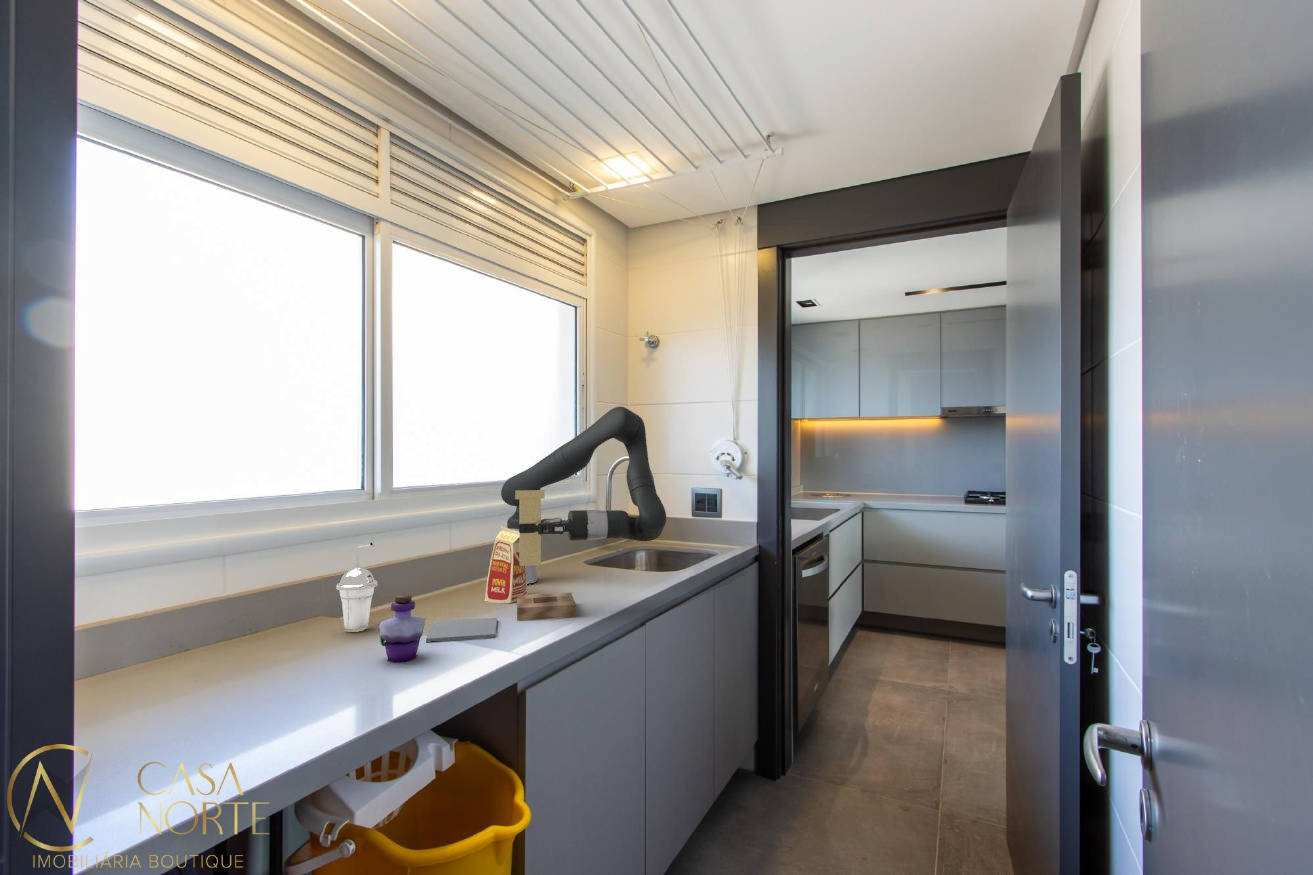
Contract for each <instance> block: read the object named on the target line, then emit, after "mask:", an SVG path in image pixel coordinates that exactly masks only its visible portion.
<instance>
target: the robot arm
mask: <svg viewBox="0 0 1313 875" xmlns="http://www.w3.org/2000/svg"><path fill="white" fill-rule="evenodd" d="M646 435H647V433H646V427H645V423H644V419H643V418H642V417H641V416H639V415H638V414H637V413H635V412H633V411H632V410H630V409H629V408H627V407H625V406H616V407H613V408H611V409H609V410H608V411H607V412H606V413H605V414H603V415H602V416H601V417H600V418H598V419H597V420H596V421H594V423H592V424H591V425H590V426H589V427H588V428H586V429H585V430H583V431H582V432H581V433H579V434H578V435H576V436H574V438H572V439H571V440H569V441H567V442H565V443H563V445H561V446H559V447H558V448H555V450H554V451H552V452H551V453H549V454H548V455H546V456H545V457H543V458H542V459H540V460H539V461H538V462H536V463H535V464H533V465H532V466H530V467H528V468H526V469H524V470H523V471H521V472H519V473H518V474H514V475H513V476H511V477H510V478H507V480H506V481H505V482H504V483H503V485H502V487H501V489H500V490H501V491H500V496H501V499H502V500H503V502H504V503H505V504H507V505H508V506H511V507H516V509H515V512H514V513H513V514H512V515H511V516H509V517H508V519H507V522H506V528H508V529H511V530H514V531H519V533H537V534H540V535H546V536H547V535H548V536H550V535H555V536H561V535H563V534H564V533H566V532H567V535H568V540H569V541H570V542H574V541H595V540H596V541H597V540H603V539H621V538H623V539H628V540H632V541H637V542H651V541H654V540H656V539H658V538H659V537H660V536H661V534H662V533H663V531H664V528H665V526H666V524H667V513H666V508H665V506H664V504H663V502H662V500H661V499H660V496H659V495H658V494H657V490H656V486H655V482H654V477H653V476H652V472H651V467H650V461H649V454H648V453H649V452H648V445H647V436H646ZM611 439H615V440H617V441H618V442H621V443H622V444H623V445H624V447H625V449H626V451H627V455H628V464H627V468H626V484H627V488H628V492H629V495H630V500H631V502H632V504H633V505H634V506H635V507H637V509H638V510H637V511H638V516H637V517H635V516H630V515H629V514H628V513H627V511H626V510H622V509H621V510H620V509H619V510H618V509H616V510H612V509H611V510H600V509H582V510H581V509H579V510H577V509H576V510H569V512H568V515H567V519H563V518H562V517H554V518H552V517H551V518H544V519H542V518H541V523H532V524H520V525H519V499H515V491H524V490H542V489H543V488H544V487H547V486H549V485H553V484H556V483H558V482H562V481H564V480H566V479H568V478H571V477H572V476H574V475H575V474H577V473H579V472H580V471H582V470H583V469H585V468H586V467H587V466H588V465H589V463H590V461H591V460H592V457H593V455H594V453H595V451H596V449H597V448H598V447H599V446H601V445H603V444H604V443H605V442H608V441H609V440H611ZM537 579H538V565H530V566H526V581H527V583H533V582H536V581H538V580H537ZM536 583H537V582H536Z"/></svg>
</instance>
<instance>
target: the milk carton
mask: <svg viewBox="0 0 1313 875" xmlns="http://www.w3.org/2000/svg"><path fill="white" fill-rule="evenodd" d="M499 528H500V531H499V533H498V534H497V536H495V540H494V544H493V548H492V553H491V555H490V556H491V557H490V560H489V562H490V563H489V567H488V573H487V574H488V575H487V579H486V584H485V585H486V586H485V594H484V601H488V602H487V603H494V604H495V603H496V604H512V603H517V595H528V588H527V586H528V585H527V581H526V566H520V563H519V531H514V530H511V529H508V528H507V527H505V526H502V525H500V526H499Z"/></svg>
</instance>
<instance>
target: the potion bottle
mask: <svg viewBox="0 0 1313 875" xmlns="http://www.w3.org/2000/svg"><path fill="white" fill-rule="evenodd" d="M390 607H391V608H390V612H391V611H392V612H394V617H392V618H388V619H385V620H382V621H381V622H380V624H379V625H378V627H379V631H380V633H379V641H380V645H381V646H382V647H385V652H386V653H385V654H386V656H387V657H386V658H387V659H386V661H387V662H388V663H389V662H390V663H393V664H396V663H407V662H411V661H414V660H416V659H417V658H418V651H419V645H420V641H421V638H422V636H423V633H424V630H425V623H426V620H427V617H426V618H425V617H420V616H417V615H416V616H415V615H412V611H413V610H415V608H416V600H413V596H412V595H411V594H398V595H396V596H394V601H392V603H391V604H390Z"/></svg>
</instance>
